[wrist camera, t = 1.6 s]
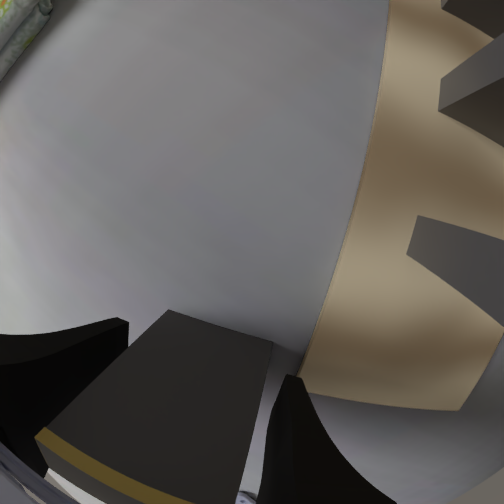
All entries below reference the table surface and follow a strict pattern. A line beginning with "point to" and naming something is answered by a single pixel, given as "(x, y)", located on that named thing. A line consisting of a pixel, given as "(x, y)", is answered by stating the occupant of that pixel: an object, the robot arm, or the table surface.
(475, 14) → the tile
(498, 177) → the birch board
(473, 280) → the tile
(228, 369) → the tile
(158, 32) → the table surface
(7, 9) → the towel
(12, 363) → the robot arm
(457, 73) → the tile
